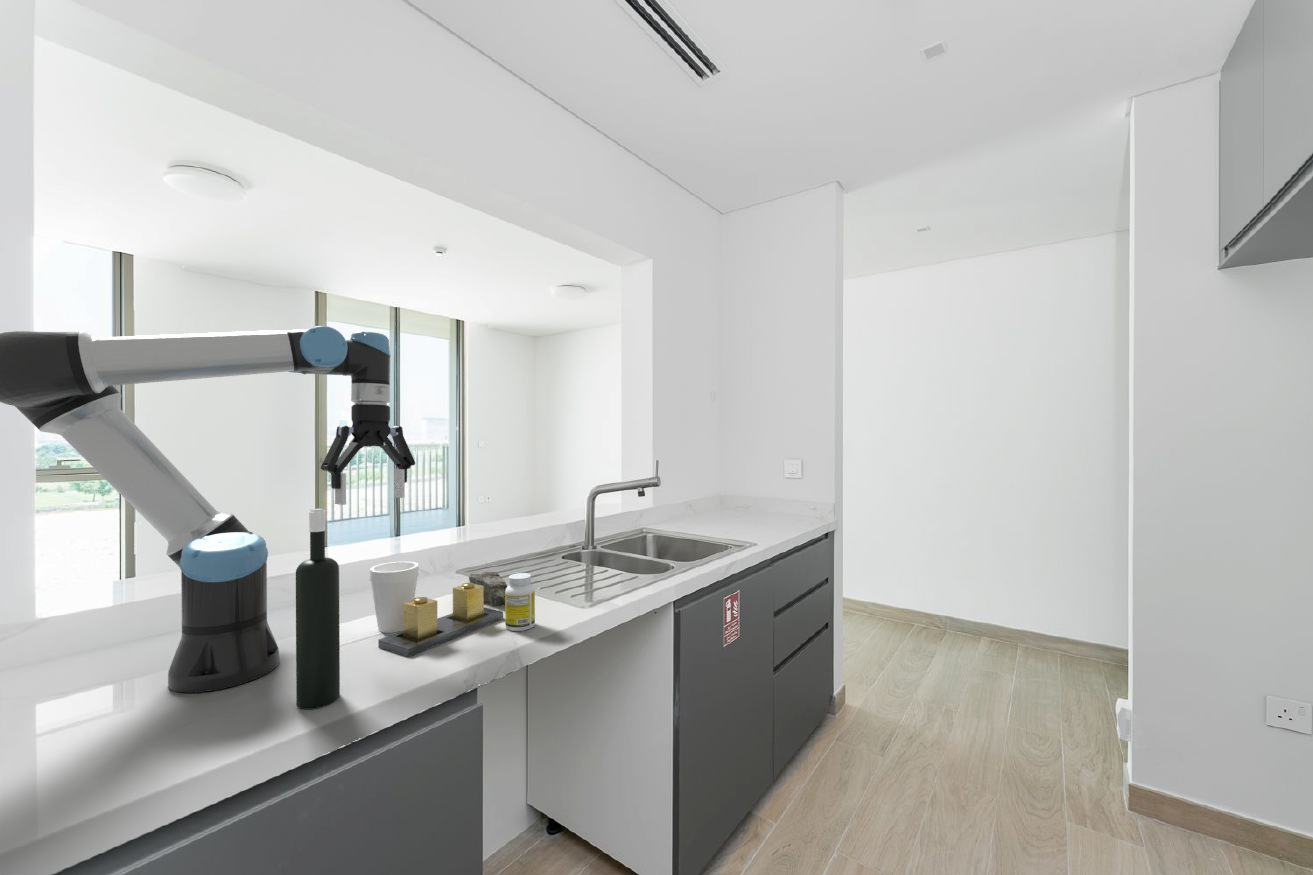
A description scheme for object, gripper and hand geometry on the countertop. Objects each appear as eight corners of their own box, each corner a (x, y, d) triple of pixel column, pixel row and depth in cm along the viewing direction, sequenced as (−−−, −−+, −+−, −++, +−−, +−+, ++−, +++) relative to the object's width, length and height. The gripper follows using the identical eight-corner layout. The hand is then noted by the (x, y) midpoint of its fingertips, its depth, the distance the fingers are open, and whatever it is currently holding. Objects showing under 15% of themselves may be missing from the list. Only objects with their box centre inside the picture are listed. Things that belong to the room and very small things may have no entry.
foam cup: (364, 626, 117) (363, 566, 117) (408, 616, 123) (408, 559, 123) (379, 638, 110) (379, 574, 110) (425, 627, 117) (425, 566, 117)
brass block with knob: (417, 647, 106) (417, 603, 106) (403, 643, 108) (403, 600, 108) (437, 639, 110) (437, 597, 110) (422, 635, 112) (422, 594, 112)
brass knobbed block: (467, 628, 116) (467, 588, 116) (452, 624, 118) (452, 585, 118) (483, 621, 120) (483, 583, 120) (469, 618, 122) (469, 580, 122)
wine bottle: (309, 691, 88) (308, 506, 87) (346, 690, 88) (345, 506, 88) (288, 710, 82) (286, 512, 82) (327, 708, 83) (326, 511, 82)
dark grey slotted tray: (408, 656, 101) (408, 648, 101) (378, 647, 106) (378, 639, 106) (503, 618, 122) (503, 611, 122) (475, 611, 127) (475, 605, 127)
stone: (517, 614, 137) (522, 584, 132) (492, 626, 132) (495, 595, 127) (489, 581, 144) (492, 552, 140) (464, 592, 139) (466, 561, 135)
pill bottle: (520, 619, 122) (520, 570, 121) (540, 624, 118) (540, 574, 118) (498, 628, 116) (498, 576, 116) (520, 634, 113) (520, 581, 113)
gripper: (322, 401, 107) (322, 508, 107) (430, 406, 128) (431, 495, 129) (301, 401, 110) (301, 506, 111) (410, 406, 132) (410, 493, 132)
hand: (371, 500), depth 120 cm, fingers open, 13 cm apart
